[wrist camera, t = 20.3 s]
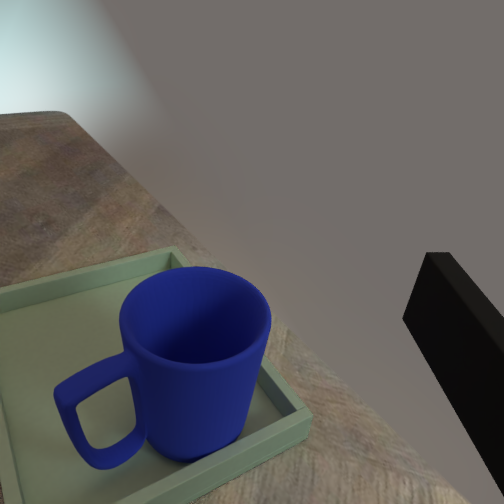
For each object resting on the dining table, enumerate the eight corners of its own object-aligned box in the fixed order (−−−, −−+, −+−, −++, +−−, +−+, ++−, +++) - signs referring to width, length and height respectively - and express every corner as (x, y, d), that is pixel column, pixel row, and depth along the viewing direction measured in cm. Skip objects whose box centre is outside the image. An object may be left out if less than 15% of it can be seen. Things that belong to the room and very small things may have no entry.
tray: (307, 438, 31) (314, 414, 30) (26, 592, 23) (16, 569, 21) (175, 266, 46) (175, 244, 44) (-27, 320, 37) (-35, 295, 36)
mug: (47, 449, 28) (15, 330, 22) (203, 357, 35) (208, 250, 30) (116, 562, 23) (98, 449, 18) (279, 429, 31) (302, 319, 25)
